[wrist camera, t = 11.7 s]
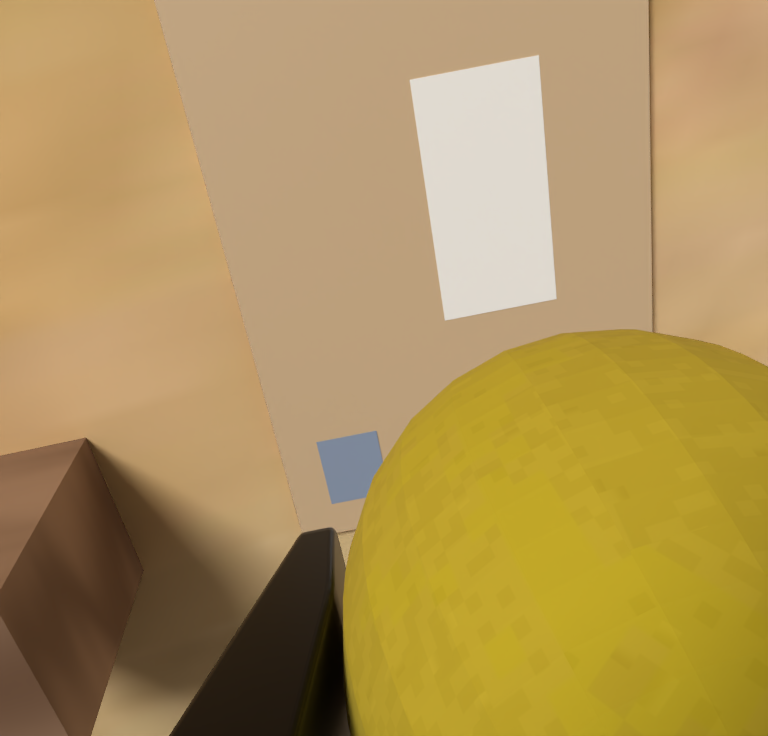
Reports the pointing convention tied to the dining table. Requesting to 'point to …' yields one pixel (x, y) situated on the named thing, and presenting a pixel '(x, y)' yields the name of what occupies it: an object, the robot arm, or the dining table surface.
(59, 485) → the walnut block
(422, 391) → the envelope
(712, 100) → the dining table surface
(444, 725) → the lemon
